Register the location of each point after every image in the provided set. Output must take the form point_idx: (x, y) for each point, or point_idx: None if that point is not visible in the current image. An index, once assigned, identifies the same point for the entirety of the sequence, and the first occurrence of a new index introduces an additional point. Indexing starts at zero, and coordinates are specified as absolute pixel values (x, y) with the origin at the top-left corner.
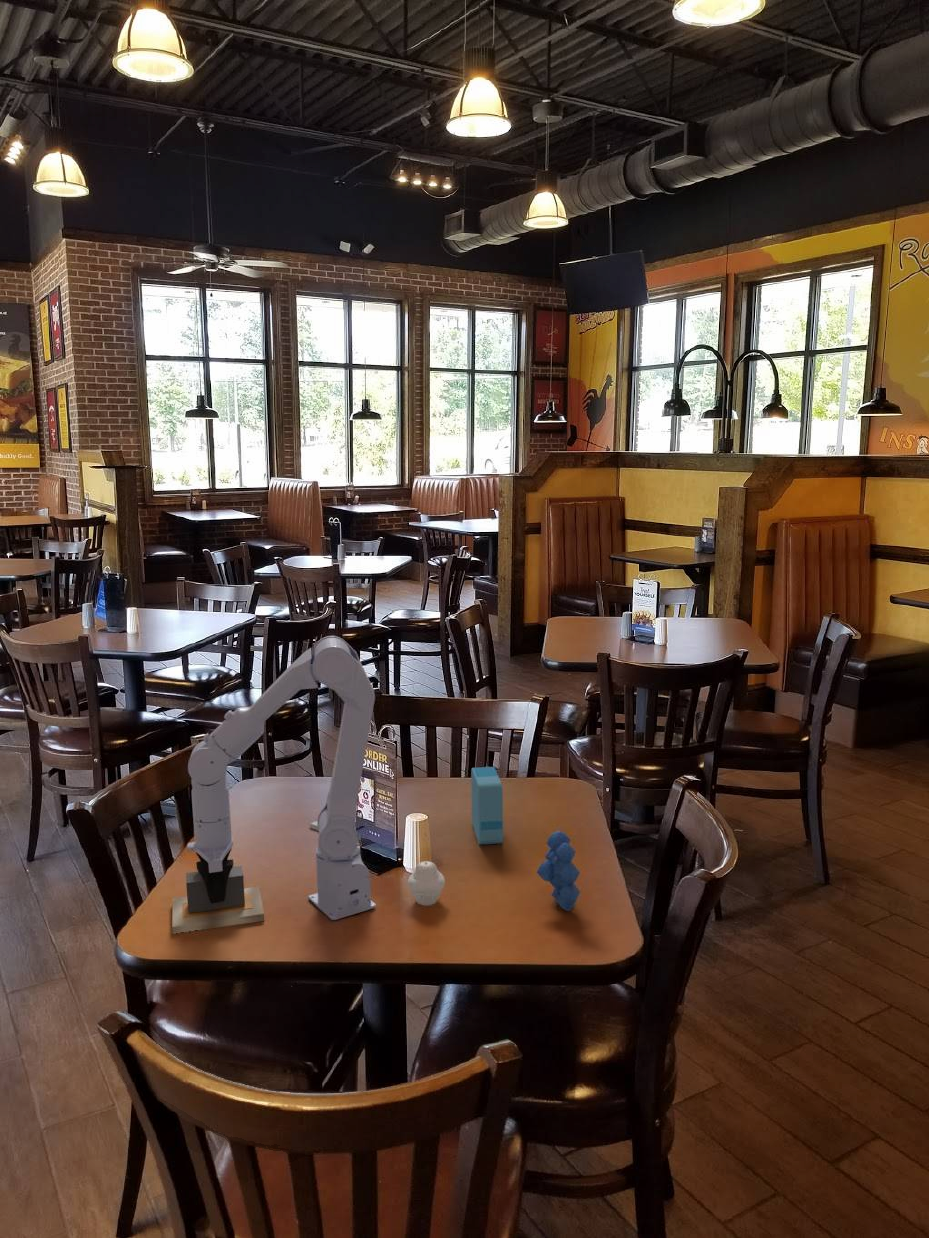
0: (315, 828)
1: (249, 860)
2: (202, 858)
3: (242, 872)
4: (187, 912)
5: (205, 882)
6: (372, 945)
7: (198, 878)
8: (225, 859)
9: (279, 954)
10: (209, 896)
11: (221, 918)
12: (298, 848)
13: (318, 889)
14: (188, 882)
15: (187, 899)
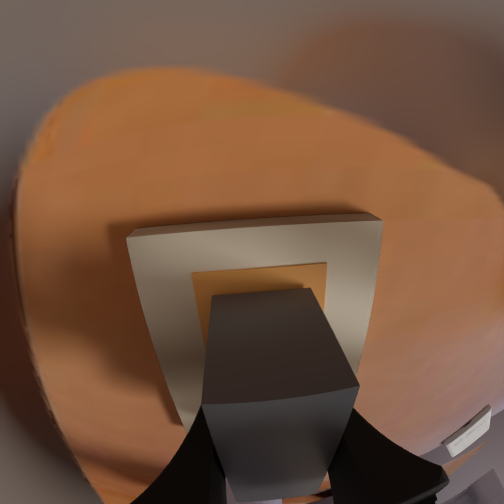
0: (481, 413)
1: (474, 362)
2: (363, 489)
3: (260, 500)
4: (233, 288)
5: (169, 463)
6: (115, 479)
7: (250, 440)
8: (334, 502)
9: (70, 420)
10: (199, 408)
11: (173, 379)
12: (454, 414)
13: (234, 500)
14: (208, 411)
15: (208, 333)
